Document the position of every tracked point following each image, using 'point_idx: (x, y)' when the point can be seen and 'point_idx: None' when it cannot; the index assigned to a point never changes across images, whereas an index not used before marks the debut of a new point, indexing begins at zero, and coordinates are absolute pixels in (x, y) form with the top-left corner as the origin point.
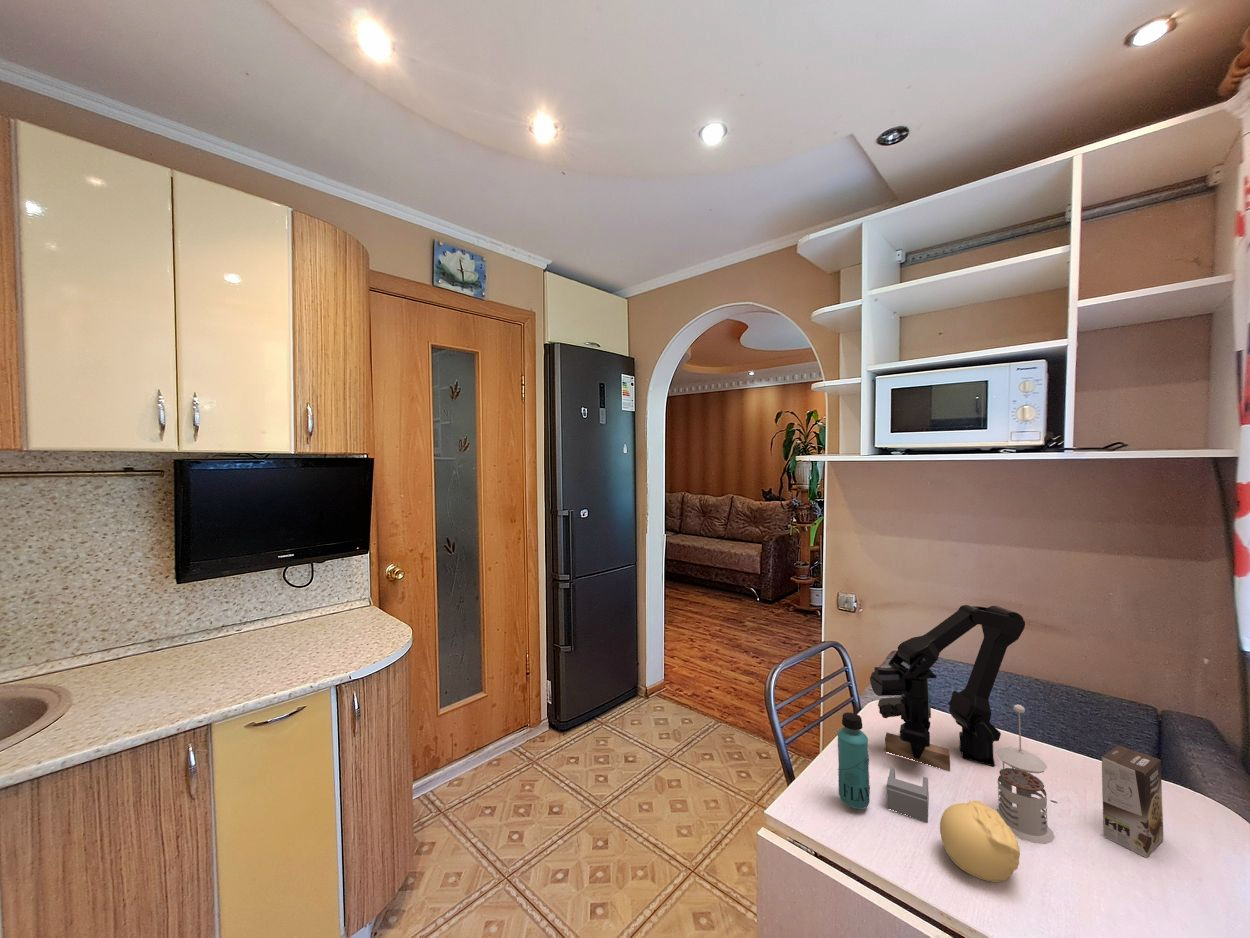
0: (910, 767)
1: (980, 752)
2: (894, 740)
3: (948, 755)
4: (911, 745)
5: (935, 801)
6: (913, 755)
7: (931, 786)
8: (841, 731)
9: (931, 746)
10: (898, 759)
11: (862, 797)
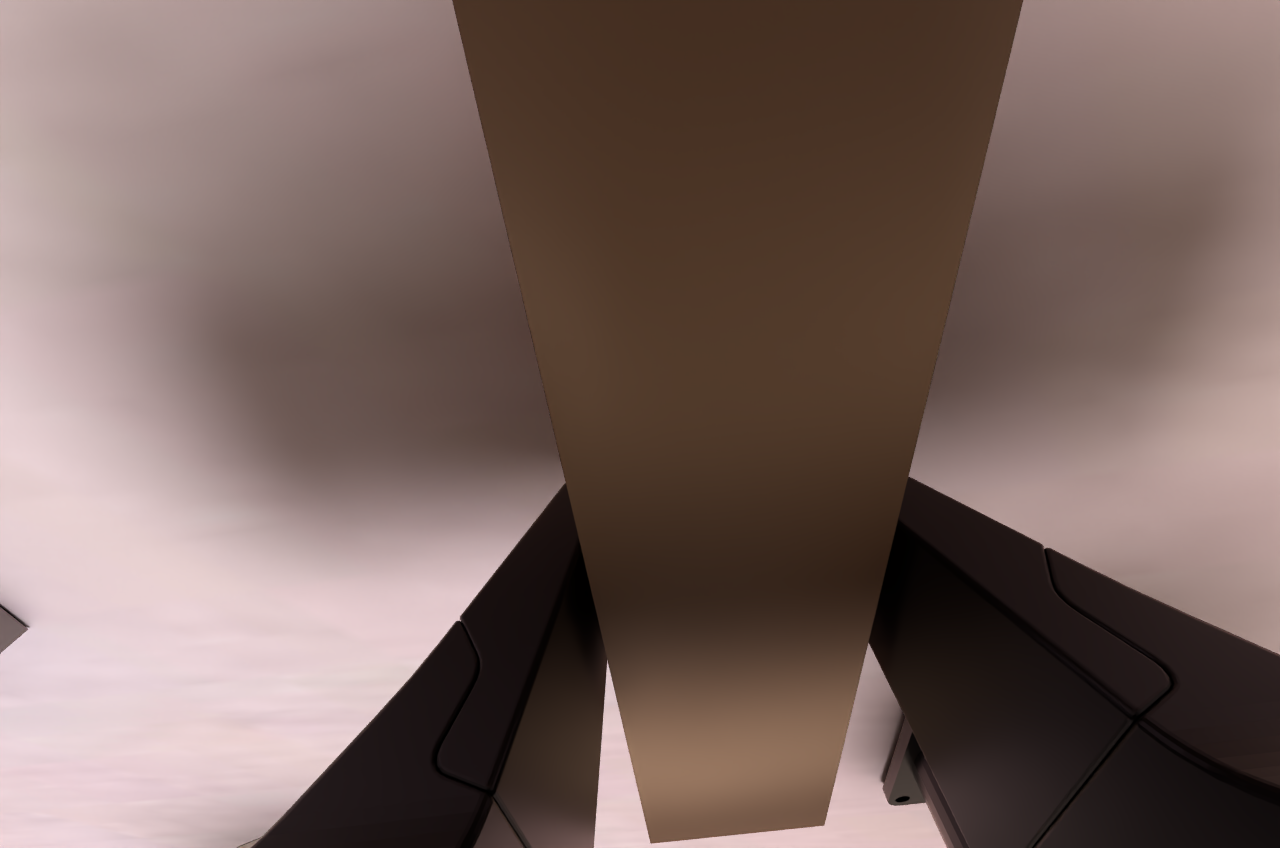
0: (413, 421)
1: (949, 844)
2: (539, 207)
3: (654, 838)
4: (437, 658)
5: (50, 662)
6: (562, 487)
7: (249, 614)
8: None
9: (768, 738)
10: (487, 249)
11: None
